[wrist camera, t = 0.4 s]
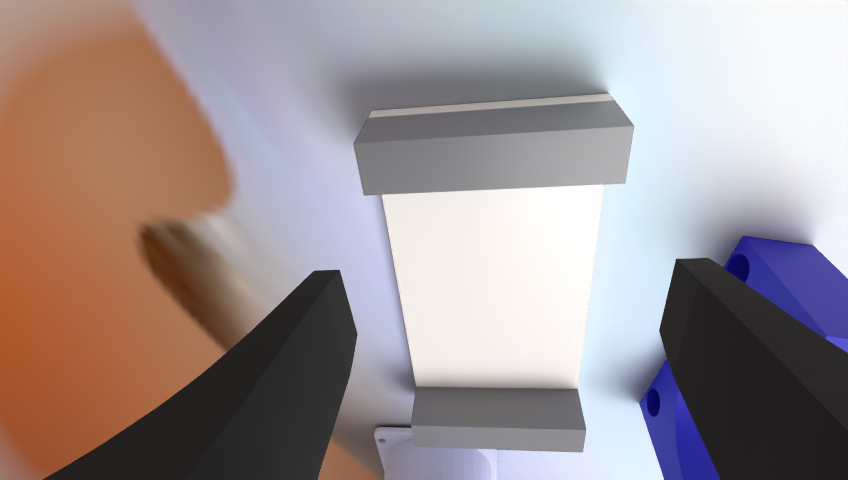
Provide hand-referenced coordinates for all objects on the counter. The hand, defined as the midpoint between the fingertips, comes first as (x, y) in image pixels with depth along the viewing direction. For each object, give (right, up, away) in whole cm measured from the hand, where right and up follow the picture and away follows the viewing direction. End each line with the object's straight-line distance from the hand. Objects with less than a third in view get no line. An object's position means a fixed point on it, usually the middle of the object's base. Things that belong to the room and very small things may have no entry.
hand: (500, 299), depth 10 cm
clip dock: (+2, -1, +12) cm, 12 cm away
